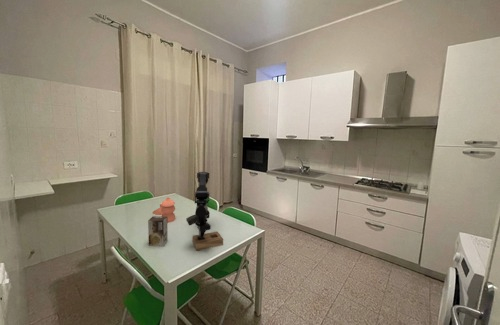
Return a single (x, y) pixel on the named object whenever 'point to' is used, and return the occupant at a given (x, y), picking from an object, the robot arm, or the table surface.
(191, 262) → the table surface
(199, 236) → the pin
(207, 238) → the bore block
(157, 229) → the coffee box
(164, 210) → the ceramic vessels
